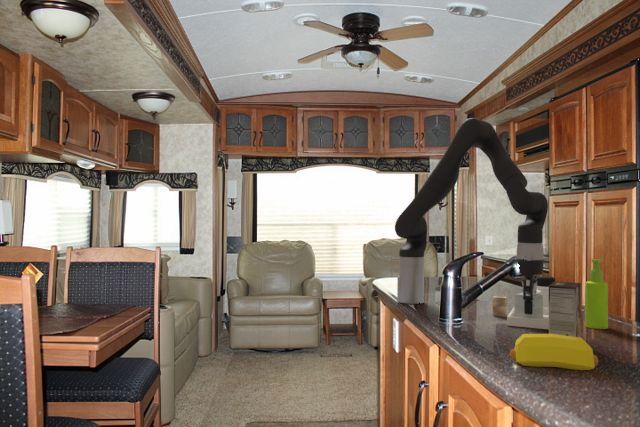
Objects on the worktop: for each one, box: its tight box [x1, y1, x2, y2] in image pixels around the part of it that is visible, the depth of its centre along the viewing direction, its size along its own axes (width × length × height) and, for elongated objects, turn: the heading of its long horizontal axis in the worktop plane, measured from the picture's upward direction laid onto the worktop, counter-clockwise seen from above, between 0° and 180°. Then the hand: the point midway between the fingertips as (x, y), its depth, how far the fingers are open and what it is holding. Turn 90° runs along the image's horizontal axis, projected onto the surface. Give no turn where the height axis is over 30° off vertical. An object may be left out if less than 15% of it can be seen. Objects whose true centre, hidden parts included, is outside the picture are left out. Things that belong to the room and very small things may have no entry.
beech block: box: [492, 295, 508, 318], centre depth 168 cm, size 4×4×6 cm
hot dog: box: [509, 333, 599, 371], centre depth 111 cm, size 18×7×8 cm
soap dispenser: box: [584, 258, 609, 330], centre depth 151 cm, size 6×7×20 cm
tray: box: [506, 306, 549, 330], centre depth 159 cm, size 12×22×3 cm, turn 153°
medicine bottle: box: [536, 275, 556, 308], centre depth 175 cm, size 7×7×12 cm
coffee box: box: [548, 281, 582, 338], centre depth 125 cm, size 9×6×16 cm
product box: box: [513, 292, 543, 319], centre depth 154 cm, size 6×6×7 cm
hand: (529, 311), depth 153 cm, fingers closed on product box, 8 cm apart
